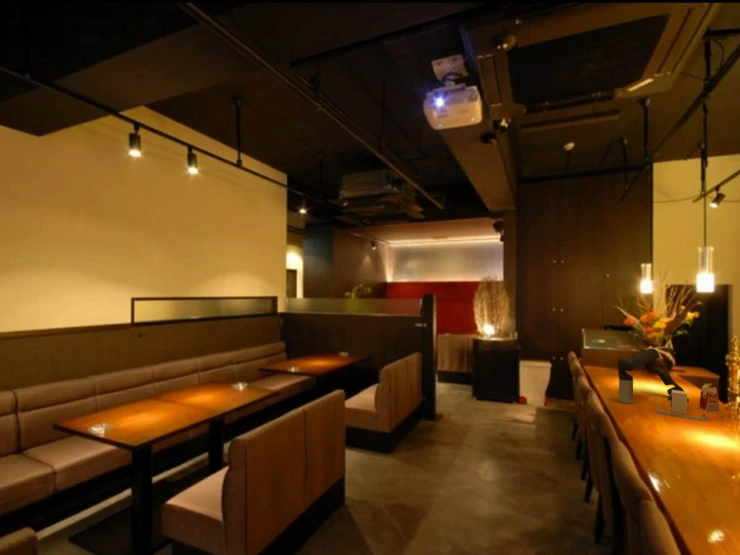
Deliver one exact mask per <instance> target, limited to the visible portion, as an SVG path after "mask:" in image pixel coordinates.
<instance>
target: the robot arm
mask: <svg viewBox="0 0 740 555" xmlns="http://www.w3.org/2000/svg"><path fill="white" fill-rule="evenodd" d="M659 358H660V353H659V351H658V350H656V349H655V348H652V347H651V348H649V349H646V350H644V351H642V352H638V353H636V354H634V355H632V357H631V358H624V357H619V359H618V360H617V374H618V402H620V403H624V404H633V403H634V377H633V375H630V374H629V373H628V372H634V371H635V370H637V369H638V368H640V367H642V366H644V365H646V364H647V365H648V366H649V367H650V368H651V369H652V370H653V371H654V372H655V374H656V376H658V377H659V379H660V380H661V381H662V383H663V384H664V386H671V388H670V387H669V388H668V389H667V391H666V392H667V394H668V395H667V400H668V401H671V402H672V390H676V391H684V392H685V390H684V389H683V387H681V386H680V385H679V383H677V382H675V380H674V379H673V378H672V376H671V375H670V374H669V372H667V371H666V370H664V369H662V368H661V367H659V366H657V365H656V364H655V363H654V362H653V361H655V360H657V359H659ZM689 401H690V400H689V397H687V403H689Z"/></svg>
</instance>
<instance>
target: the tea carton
mask: <svg viewBox="0 0 740 555" xmlns="http://www.w3.org/2000/svg"><path fill="white" fill-rule="evenodd" d="M687 398H688V393H687V391H685V390H684V391H676V390H672V401H671V411H672V413H674V414H681V415H688V402H687Z"/></svg>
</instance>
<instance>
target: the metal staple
mask: <svg viewBox="0 0 740 555" xmlns="http://www.w3.org/2000/svg"><path fill="white" fill-rule="evenodd" d="M655 410H656V412H655V414H659V415H664V416H670V417H671V416H672V417H677V418H678V417H679V418H684V419H689V420H690V419H691V420H696V421H702V422H708V418H707V416H706V414H705V413H702V417H699V416H693V415H692V416H691V415H687V414H681V413H674V412H666V411H659V407H658V406H655Z"/></svg>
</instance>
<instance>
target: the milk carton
mask: <svg viewBox="0 0 740 555" xmlns="http://www.w3.org/2000/svg"><path fill="white" fill-rule="evenodd" d="M712 384H713V383H711V382H710V383H705V382H704V383H703V386H702V387H701V390H700V396H699V397H700V398H699V404H698V405H699V406H698V408H699V409H700V410H702V411H703V412H706V413H717V412H719V414H721V413H722V412H721V407H720V403H719V397H718V396H719V395H718V390H717V387H716V386H714V385H712Z"/></svg>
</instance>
